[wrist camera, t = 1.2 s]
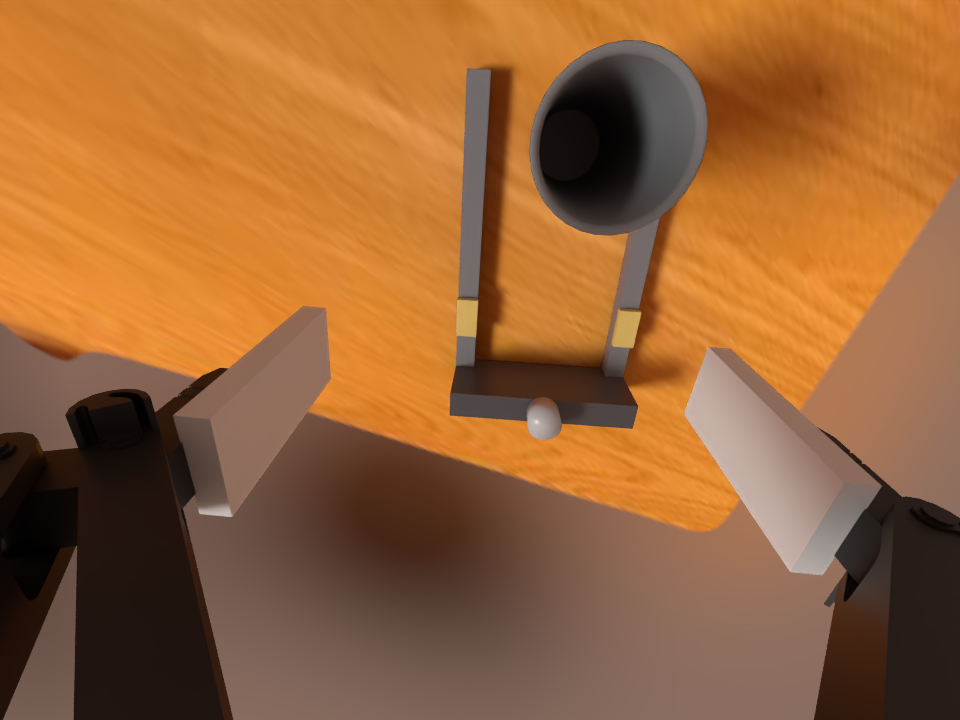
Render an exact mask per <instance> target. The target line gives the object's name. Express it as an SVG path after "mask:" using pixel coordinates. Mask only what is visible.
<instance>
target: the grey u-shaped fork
mask: <svg viewBox="0 0 960 720" xmlns="http://www.w3.org/2000/svg"><path fill="white" fill-rule="evenodd" d="M490 88H491V70H485V69H468V68H467V83H466V111H465V138H464V165H463V192H462V219H461V246H460V273H459V297H458V299H457V321H456V336H457V355H456V369H455V374H454V378H453V383H452V388H451V393H450V415H451V416H465V417H478V418H492V419H506V420H520V421H527V422H528V430H529V432H530V434H531V435H532V436H533V437H535V438H537V439H540V440H548V439H552V438H554V437H556V436H557V435H558V434H559V433H560V431H561V428H562V424H575V425H589V426H602V427H616V428H630V429H633V425H634V421H635V417H636V413H637V409H638V405H637V403H636V401H635V399H634V398H633V396H632V394H631V392H630V390H629V388H628V386H627V384H626V382H625V380H624V379H623V376H624V371H625V367H626V363H627V358H628V354H629V349H630V348H633V347H634V342H635V338H636V334H637V330H638V325H639V321H640V317H641V311H640V310H639V306H640V302H641V297H642V293H643V288H644V284H645V280H646V275H647V271H648V267H649V262H650V258H651V254H652V249H653V245H654V241H655V236H656V232H657V227H658V223H659V219H660V218H659V219H657V220H655V221H653V222H652V223H650V224H648V225H646V226H644V227H643V228H640V229H637V230H634V231H631V232H629V234H628V239H627V244H626V249H625V254H624V259H623V264H622V269H621V274H620V279H619V284H618V288H617V293H616V298H615V303H614V308H613V313H612V318H611V323H610V328H609V333H608V338H607V343H606V348H605V353H604V358H603V363H602V368H591V367H577V366H563V365H549V364H535V363H521V362H506V361H492V360H478V359H475V348H476V332H477V315H478V296H479V279H480V262H481V244H482V227H483V210H484V192H485V175H486V158H487V140H488V123H489V106H490Z"/></svg>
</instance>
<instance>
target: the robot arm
mask: <svg viewBox="0 0 960 720" xmlns="http://www.w3.org/2000/svg"><path fill="white" fill-rule="evenodd" d="M330 379H331V375H330V361H329V347H328V333H327V320H326V308H317V307H307V306H303V307H302V308H300V309H299V310H298V311H297V312H296V313H295V314H293V315H292V316H291V317H290V318H289V319H287V320H286V321H285V322H284V323H283V324H281V325H280V326H279V327H278V328H277V329H275V330H274V331H273V332H272V333H271V334H269V335H268V336H267V337H266V338H265V339H263V340H262V341H261V342H260V343H259V344H258V345H256V346H255V347H254V348H253V349H252V350H250V351H249V352H248V353H247V354H246V355H244V356H243V357H242V358H241V359H240V360H238V361H237V362H236V363H235V364H234V365H232V366H231V367H230V368H229V369H227V368H219V369H217V370H214V371H212V372H210V373H207V374H205V375H203V376H201V377H200V378H199V379H197V380H196V381H195V382H193V383H192V384H191V385H190V386H189V388H186V389H185V390H183V391H182V392H181V393H179V394H178V397H175V398H173V399H172V400H171V401H169V402H168V403H167V404H166V405H164V406H163V407H162V408H160V409H159V410H158V411H157V412H154V408H153V405H152V401H151V398H150V396H149V395H148V394H147V393H146V392H144V391H140V390H137V389H120V390H112V391H106V392H103V393H99V394H95V395H92V396H90V397H88V398H85V399H83V400H81V401H79V402H77V403H76V404H75V405H73V406H72V407H70V408H69V410H68V412H67V413H66V415H65V416H66V418H67V421H68V423H69V426H70V428H71V431H72V433H73V436H74V438H75V440H76V443H77V446H78V448H73V449H64V450H53V451H43V450H42V448H41V446H40V444H39V441H38V439H37V438H36V437H35V436H34V435H33V434H28V433H23V432H15V433H3V434H0V720H3V718H4V716H5V713H6V711H7V708H8V706H9V704H10V701H11V699H12V697H13V694H14V692H15V690H16V687H17V685H18V682H19V680H20V678H21V675H22V673H23V670H24V668H25V666H26V663H27V661H28V659H29V656H30V654H31V652H32V649H33V647H34V644H35V642H36V639H37V637H38V634H39V633H40V630H41V628H42V625H43V623H44V621H45V618H46V616H47V613H48V611H49V609H50V606H51V604H52V602H53V599H54V597H55V594H56V592H57V589H58V587H59V585H60V583H61V580H62V578H63V576H64V573H65V571H66V568H67V566H68V564H69V561H70V559H71V557H72V554H73V552H74V549H75V547H76V546H77V587H76V634H75V681H74V720H233V716H232V713H231V708H230V704H229V700H228V695H227V691H226V687H225V682H224V678H223V674H222V670H221V666H220V661H219V657H218V653H217V649H216V644H215V640H214V636H213V632H212V628H211V623H210V619H209V615H208V610H207V606H206V603H205V598H204V594H203V589H202V585H201V581H200V577H199V572H198V568H197V564H196V560H195V555H194V551H193V547H192V543H191V539H190V534H189V530H188V526H187V522H186V518H185V514H184V511H183V507H184V506H185V505H186V504H187V503H188V502H189V500H190V499H191V498H192V497H193V496H194V495H195V499H196V503H197V506H198V510H199V514H208V515H217V516H228V517H232V516H233V515H234V514H235V512H236V511H237V510H238V508H239V507H240V505H241V504H242V502H243V501H244V500H245V498H246V497H247V495H248V494H249V493H250V491H251V490H252V488H253V487H254V486H255V484H256V483H257V481H258V480H259V479H260V477H261V476H262V474H263V473H264V472H265V470H266V469H267V467H268V466H269V465H270V463H271V462H272V460H273V459H274V457H275V456H276V455H277V453H278V452H279V450H280V449H281V448H282V446H283V445H284V444H285V442H286V441H287V439H288V438H289V437H290V435H291V434H292V432H293V431H294V429H295V428H296V427H297V425H298V424H299V422H300V421H301V420H302V418H303V417H304V416H305V414H306V413H307V411H308V410H309V409H310V407H311V406H312V404H313V403H314V402H315V400H316V399H317V397H318V396H319V395H320V393H321V392H322V390H323V389H324V388H325V386H326V385H327V383H328V382H329V381H330ZM684 415H685V416H686V418H687V419H688V421H689V422H690V424H691V425H692V427H693V428H694V430H695V431H696V433H697V434H698V436H699V437H700V439H701V440H702V442H703V443H704V445H705V446H706V448H707V449H708V450H709V452H710V453H711V455H712V456H713V458H714V459H715V461H716V462H717V464H718V465H719V467H720V468H721V470H722V471H723V473H724V474H725V476H726V477H727V479H728V480H729V482H730V483H731V485H732V486H733V488H734V489H735V491H736V492H737V494H738V495H739V497H740V498H741V500H742V501H743V502H744V504H745V505H746V507H747V508H748V510H749V511H750V513H751V514H752V516H753V517H754V519H755V520H756V522H757V523H758V525H759V526H760V528H761V529H762V531H763V532H764V534H765V535H766V537H767V538H768V540H769V541H770V543H771V544H772V546H773V547H774V549H775V550H776V551H777V553H778V554H779V556H780V557H781V559H782V560H783V562H784V563H785V565H786V566H787V568H788V569H789V571H790V572H795V573H805V574H815V575H823V574H824V573H825V571H826V569H827V568H828V566H829V565H830V563H831V562H832V560H833V559H834V557H836V558H837V559H838V560H839V562H840V563H841V564H842V565H843V567H844V568H845V569H846V570H847V571H846V573H845V574H844V576H843V577H842V578H841V580H840V581H839V583H838V584H837V586H836V587H835V588H834V590H833V592H832V593H831V594H830V596H829V597H828V599H827V600H826V601H825V603H824V604H825V605H826V606H828V607H830V606H831V605H832V604H833V602H835V606H834V611H833V617H832V623H831V628H830V634H829V639H828V644H827V650H826V656H825V661H824V667H823V672H822V678H821V683H820V689H819V694H818V700H817V705H816V711H815V716H814V720H960V518H959V517H957V516H956V515H954V514H952V513H951V512H949V511H947V510H945V509H943V508H941V507H939V506H937V505H935V504H933V503H929V502H926V501H924V500H921V499H917V498H912V497H902V496H900V495H899V494H898V493H897V492H896V491H895V490H894V489H892V488H891V487H890V486H889V485H888V484H887V483H886V482H884V481H883V480H882V479H881V478H880V477H879V476H878V475H877V474H876V473H874V472H873V471H872V470H871V469H870V468H869V467H868V466H866V465H865V464H862V461H861V460H860V459H859V458H857V457H856V456H855V455H854V454H853V453H850V450H848V449H847V448H846V447H845V446H844V445H843V444H841V442H839V441H838V440H837V439H836V438H835V437H833V436H831V435H830V434H828V433H826V432H824V431H823V430H821V429H819V428H818V427H816V426H815V425H814V424H813V423H812V422H810V421H809V420H808V419H807V418H806V417H805V416H804V415H803V414H802V413H801V412H800V411H798V410H797V409H796V408H795V407H794V406H793V405H792V404H791V403H790V402H788V401H787V400H786V399H785V398H784V397H783V396H782V395H781V394H780V393H778V392H777V391H776V390H775V389H774V388H773V387H772V386H771V385H770V384H769V383H767V382H766V381H765V380H764V379H763V378H762V377H761V376H760V375H759V374H757V373H756V372H755V371H754V370H753V369H752V368H751V367H750V366H749V365H748V364H746V363H745V362H744V361H743V360H742V359H741V358H740V357H739V356H738V355H736V354H735V353H734V352H733V351H732V350H731V349H724V348H714V347H708V349H707V352H706V354H705V357H704V360H703V363H702V366H701V368H700V371H699V374H698V377H697V379H696V382H695V385H694V388H693V390H692V393H691V396H690V399H689V402H688V404H687V407H686V410H685V413H684Z"/></svg>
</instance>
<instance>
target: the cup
mask: <svg viewBox="0 0 960 720" xmlns="http://www.w3.org/2000/svg"><path fill="white" fill-rule="evenodd" d="M707 132H708V116H707V108H706V101H705V98H704V96H703V93H702V90H701V87H700V84H699V82H698V81H697V79H696V77H695V76H694V74H693V73H692V71H691V69H690V68H689V67H688V66H687V65H686V64H685V63H684V62H683V61H682V60H681V59H680V58H679V57H678V56H677V55H675V54H674V53H672V52H670V51H669V50H667V49H665V48H664V47H662V46H659V45H656V44H652V43H649V42H646V41H634V40H623V41H618V42H613V43H607V44H604V45H602V46H600V47H597V48H595V49H593V50H590V51H588V52H586V53H585V54H583V55H582V56H581V57H579V58H578V59H576V60H575V61H573V62H572V63H571V64H570V65H569V66H568V67H567V68H566V69H565V70H564V71H563V72H562V73H561V74H560V75H559V76H558V77H557V78H556V79H555V80H554V82H553V83H552V85H551V86H550V88H549V89H548V91H547V92H546V94H545V95H544V97H543V100H542V102H541V104H540V106H539V108H538V111H537V113H536V116H535V120H534V124H533V127H532V131H531V140H530V162H531V171H532V174H533V177H534V181H535V184H536V187H537V189H538V191H539V193H540V195H541V197H542V199H543V201H544V202H545V203H546V205H547V206H548V207H549V208H550V210H551V211H552V212H553V213H554V214H555V215H556V216H557V217H558V218H560V219H561V220H562V221H563V222H565V223H566V224H568V225H570V226H572V227H574V228H576V229H578V230H580V231H583V232H587V233H591V234H595V235H617V234H624V233H628V232H631V231H634V230H637V229H640V228H643V227H644V226H646V225H648V224H650V223H652V222H653V221H655V220H657V219H659V218H660V217H661V216H662V215H663V214H665V213H666V212H667V211H668V210H670V209H671V208H672V207H673V206H674V205H675V204H676V203H677V201H678V200H679V199H680V198H681V197H682V196H683V195H684V194H685V192H686V190H687V189H688V187H689V186H690V184H691V183H692V181H693V180H694V178H695V176H696V173H697V171H698V169H699V166H700V164H701V162H702V159H703V155H704V151H705V147H706V143H707Z"/></svg>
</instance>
